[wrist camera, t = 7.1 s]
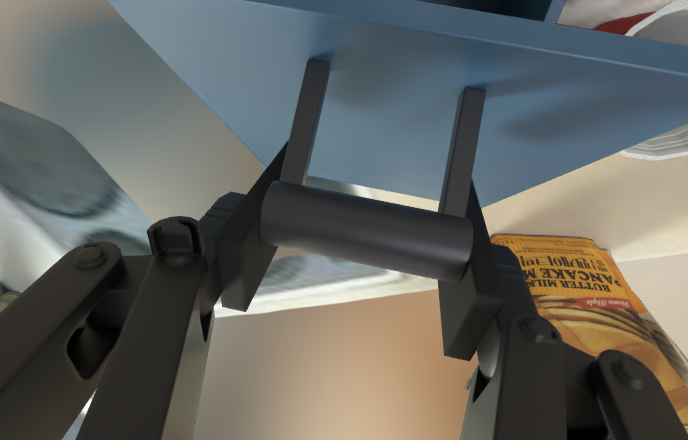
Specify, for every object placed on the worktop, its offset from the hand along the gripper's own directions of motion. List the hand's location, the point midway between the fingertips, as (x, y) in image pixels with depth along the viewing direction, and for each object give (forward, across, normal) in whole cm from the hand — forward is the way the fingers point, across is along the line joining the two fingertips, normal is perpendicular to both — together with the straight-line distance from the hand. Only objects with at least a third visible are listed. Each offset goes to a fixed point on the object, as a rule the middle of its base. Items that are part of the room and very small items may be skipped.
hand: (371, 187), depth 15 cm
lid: (+5, 0, 0) cm, 5 cm away
